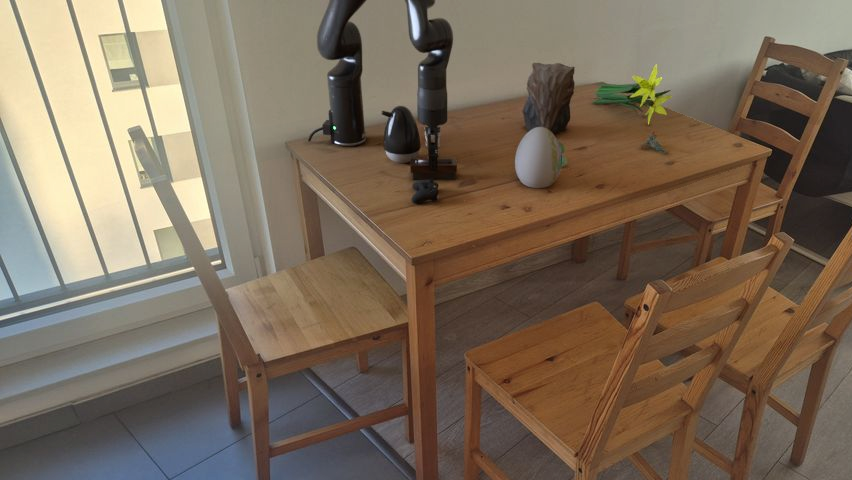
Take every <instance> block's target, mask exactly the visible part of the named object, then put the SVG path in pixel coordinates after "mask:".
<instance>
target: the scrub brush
mask: <svg viewBox="0 0 852 480" xmlns="http://www.w3.org/2000/svg"><path fill="white" fill-rule="evenodd" d="M457 163H458V162H457V158H451V157H450V158H449V157H448V158H445V157H444V158H441V157H440V158H439V157H438V158H437V171H430V170H429V158H428V157H427V158H425V157H424V158H423V157H422V158H419V157H418V158H415V159H411V162H410V173H411V174H412V180H413V181H429V179H432V180H433V181H437V180H438V181H441V180H442V181H443V180H445V181H448V180H451V181H452V180H453V181H455V180H456V174H457V173H458V164H457Z"/></svg>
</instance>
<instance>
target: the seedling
mask: <svg viewBox="0 0 852 480" xmlns="http://www.w3.org/2000/svg"><path fill="white" fill-rule="evenodd" d="M558 143H559V145H560V148H561V153H562V167H565V166H566V165H567V164H568V159H567V157H566V156H565V155H564V153H565V151H566V149H565V146H564V145H565V144H563V143H562V142H561V141H558Z"/></svg>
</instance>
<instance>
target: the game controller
mask: <svg viewBox="0 0 852 480" xmlns="http://www.w3.org/2000/svg"><path fill="white" fill-rule="evenodd" d="M439 186H440V185H439V183H437V181H435V180H432V179H429V180H416V181H415V182H413V183H412V185H411V187H412V190H414V191H416V192H415V193H414V194H413V195H412V196H411V199H410V201H411V202H412V203H413V204H421V203H424V202H427V201H432V202H435V201H439V199H438V196H439Z"/></svg>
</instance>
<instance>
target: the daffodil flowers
mask: <svg viewBox="0 0 852 480" xmlns="http://www.w3.org/2000/svg"><path fill="white" fill-rule="evenodd" d="M657 75H658V65H657V63H656V64H655V65H654V67H653V69H652V71H651V73H650V75H649V78H648V80H647V79H646V78H643V77H641V76H636V75H631V77H632V79H633V80H634V81H635V82H634V83H625V84H613V83H612V84H611V83H597V84H596V87H598V89H597V91H595V92H594V96H595V95H596V98H598V99H595V100H594V101H592V103H593V104H594V105H600V104H601V105H604V104H605V105H606V104H613V105H619V106H623V107H626V108H630V109H632V110H633V111H634V113H636V116H639V113H638V111H640V112H641V113H644V111H643V110H642V108H641V107H642V106H644V107H649V109H648V110H647V112H646V113H645V115H647V114H648V115H647V125H649V124H650V122H651V118H652V116H653V114H654V112H655V113H657V114H658V115H665V116H667V115H668V113H667V111H666V110H665V107H663V106H662V105H661V104H663V103H664V102H666V101H668V100H669V99H670V98H672V97H673V96H674V95H673V94H670V95H665V94H667V93H669V92H671V91H672V89H668V90H666V89H664V90H663V91H660V92H656V90H655V88H656V87H657V86H658V85H659V84H660V83H661V81H662V79H663V77H662V76H660V77H658V78H657ZM625 94H630V95H625ZM664 95H665V96H664ZM636 104H640V105H639V106H638V105H636ZM637 110H638V111H637Z"/></svg>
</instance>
